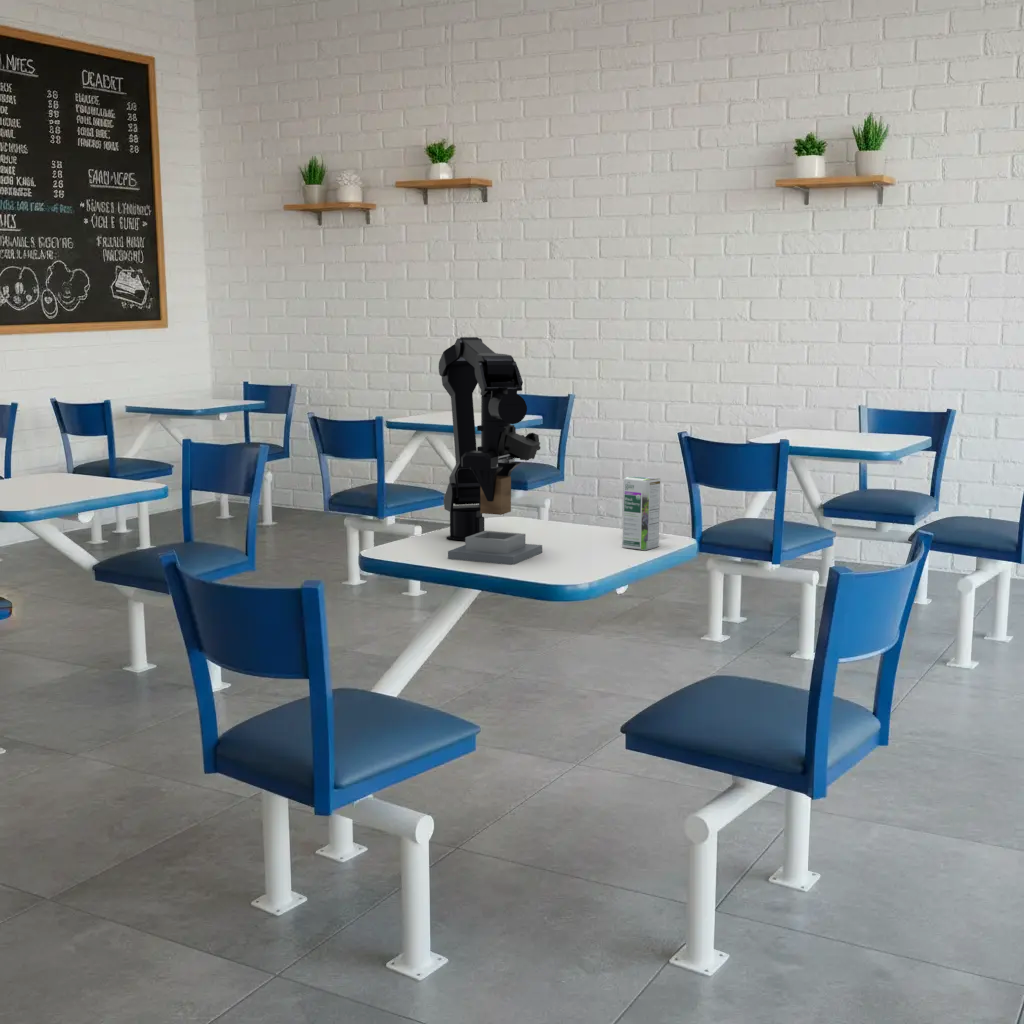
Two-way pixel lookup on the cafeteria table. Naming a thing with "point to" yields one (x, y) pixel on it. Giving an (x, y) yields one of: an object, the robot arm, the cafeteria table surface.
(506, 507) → the walnut peg
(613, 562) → the cafeteria table surface
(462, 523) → the robot arm
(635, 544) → the syrup box
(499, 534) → the socket block
